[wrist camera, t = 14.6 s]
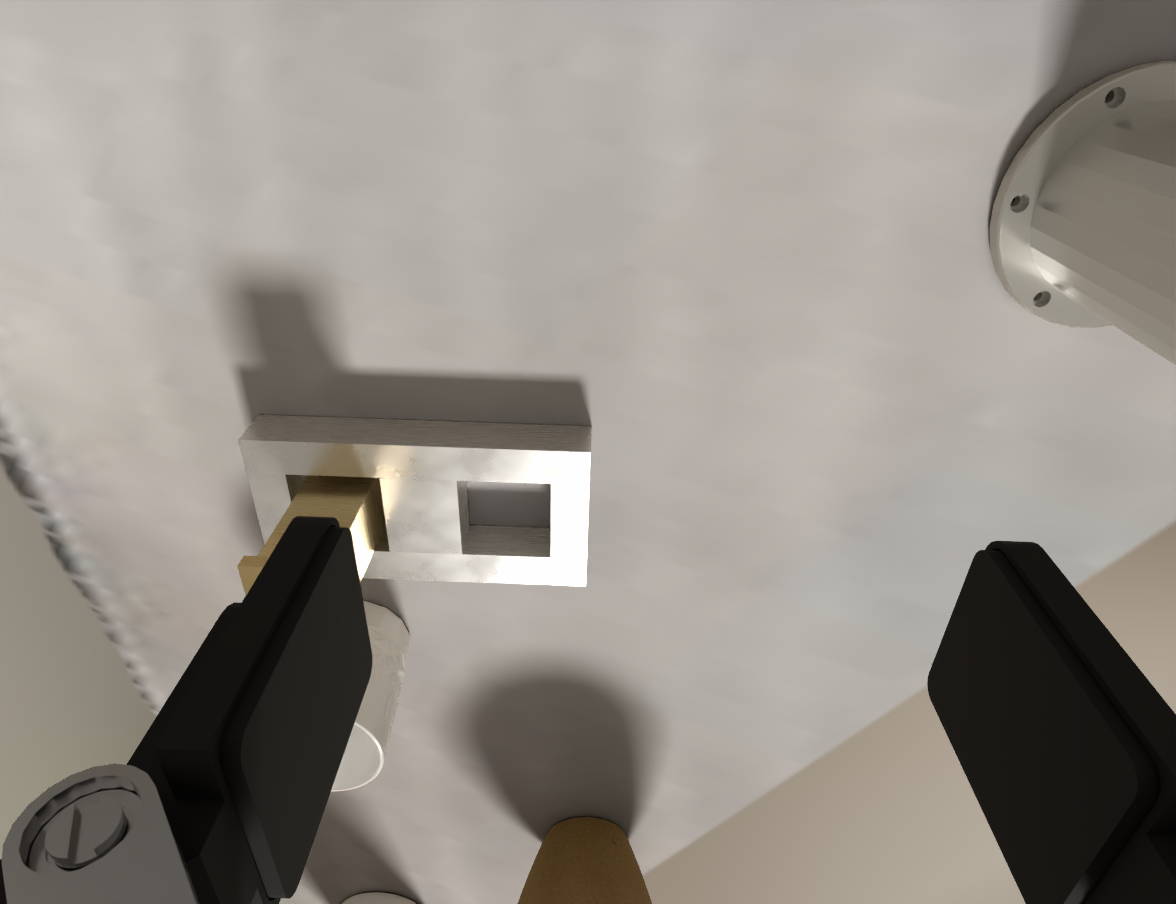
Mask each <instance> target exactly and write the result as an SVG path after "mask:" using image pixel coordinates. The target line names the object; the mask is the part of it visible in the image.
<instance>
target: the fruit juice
mask: <svg viewBox="0 0 1176 904" xmlns="http://www.w3.org/2000/svg"><path fill="white" fill-rule="evenodd" d="M342 904H416V903H415V902H413V901H411V900H409V899H407V898H405V897H402V896H399V895H395V894H390V893H382V892H370V893H362V894H358V895H355V896H352V897H350V898H348V899H346V900H345V901H344V902H343V903H342Z"/></svg>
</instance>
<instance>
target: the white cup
mask: <svg viewBox="0 0 1176 904" xmlns="http://www.w3.org/2000/svg"><path fill="white" fill-rule="evenodd" d="M363 603H364V609H365V615H366V620H367V626H368V632H369V638H370V644H371V650H372V657H373V659H372V671H371V676H370V680H369V683H368V686H367V689H366V691H365V694H364V697H363V700H362V703H361V706H360V709H359V712H358V714H357V717H356V720H355V723H354V726H353V729H352V732H351V735H350V737H349V740H348V743H347V746H346V749H345V752H344V755H343V758H342V760H341V763H340V766H339V769H338V772H337V775H336V778H335V781H334V784H333V786H332V789H331V791H345V790H351V789H355V788H358V787H361V786H363V785H365V784H367V783H369V782H370V781H372V780H373V779H374V778H375V777H376V776H377V775H378V774H379V772H380V771H381V769H382V766H383V763H384V758H385V754H386V750H387V745H388V741H389V737H390V733H391V729H392V725H393V721H394V716H395V712H396V708H397V704H398V700H399V695H400V690H401V684H402V680H403V676H404V665H405V661H406V657H407V653H408V646H409V637H410V635H409V633H408V631H407V629H406V627H405V625H404V623H403V621H402V620H401V619H400V618H399V617H398V616H396V615H395V614H394V613H392V612H391V611H390V610H389V609H387V608H385V607H383V606H380V605H376V604H373V603H370V602H367V601H363Z"/></svg>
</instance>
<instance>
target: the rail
mask: <svg viewBox="0 0 1176 904" xmlns="http://www.w3.org/2000/svg"><path fill="white" fill-rule="evenodd" d="M591 429H592V426H568V425H540V424H511V423H483V422H455V421H427V420H399V419H371V418H342V417H314V416H286V415H259V416H258V417H257V418H256V419H255V420H254V421H253V423H252V424H251V425H250V426H249V427H248V429H247V430H246V431H245V432H244V433H243V435H242V436H241V437H240V438H239V439H238V441H239V445H240V449H241V453H242V457H243V461H244V465H245V469H246V473H247V477H248V481H249V485H250V489H251V493H252V497H253V501H254V505H255V509H256V513H257V517H258V521H259V525H260V529H261V533H262V537H263V541H264V545H265V543H266V542H267V540H268V539H269V537H270V535H271V534H272V532H273V531H274V529H275V527H276V526H277V524H278V523H279V521H280V520H281V518H282V516H283V515H284V513H285V512H286V510H287V508H288V507H289V505H290V504H291V502H292V500H293V499H294V497H295V496H296V494H297V492H298V491H299V489H300V488H301V486H302V484H303V483H304V481H305V480H306V478H307V476H308V475H315V476H343V477H371V478H379V479H380V486H381V493H382V500H383V507H384V514H385V521H386V524H385V526H384V528H383V531H382V533H381V536H380V538H379V540H378V543H377V545H376V547H375V550H374V552H373V555H372V557H371V559H370V562H369V564H368V567H367V569H366V571H365V574H364V576H363V578H369V579H397V580H425V581H453V582H481V583H509V584H536V585H564V586H586V567H587V540H588V513H589V486H590V459H591ZM467 481H484V482H512V483H540V484H551V528H536V527H508V526H480V525H470V522H469V507H468V492H467Z"/></svg>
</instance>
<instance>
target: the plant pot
mask: <svg viewBox="0 0 1176 904" xmlns="http://www.w3.org/2000/svg"><path fill="white" fill-rule="evenodd" d="M518 904H652V903H651V899H650V896H649V894H648V891H647V888H646V885H645V882H644V879H643V876H642V873H641V871H640V868H639V866H638V863H637V861H636V858H635V856H634V853H633V851H632V848H631V846H630V843H629V841H628V839H627V837H626V834H625V833H624V831H623V830H622V829H621V828H620V827H618V826H617V825H616V824H614V823H612V822H609V821H607V820H604V819H600V818H594V817H577V818H571V819H567V820H564V821H561V822H559V823H557V824H556V825H554V826H553V827H552V828H551V829H550V830H549V831H548V833H547V835H546V837H545V839H544V841H543V843H542V845H541V847H540V849H539V852H538V854H537V856H536V858H535V861H534V863H533V866H532V868H531V870H530V873H529V875H528V878H527V880H526V883H525V886H524V888H523V891H522V893H521V896H520V899H519V902H518Z"/></svg>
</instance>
